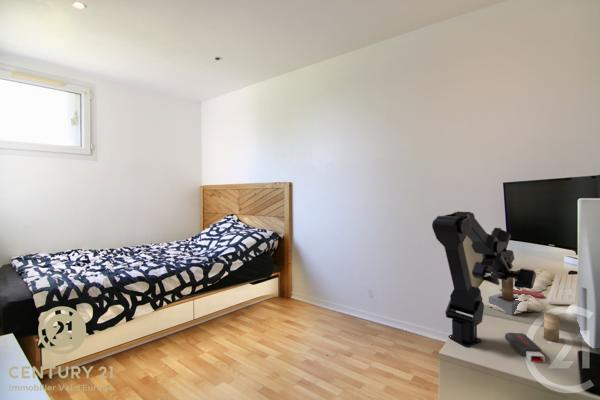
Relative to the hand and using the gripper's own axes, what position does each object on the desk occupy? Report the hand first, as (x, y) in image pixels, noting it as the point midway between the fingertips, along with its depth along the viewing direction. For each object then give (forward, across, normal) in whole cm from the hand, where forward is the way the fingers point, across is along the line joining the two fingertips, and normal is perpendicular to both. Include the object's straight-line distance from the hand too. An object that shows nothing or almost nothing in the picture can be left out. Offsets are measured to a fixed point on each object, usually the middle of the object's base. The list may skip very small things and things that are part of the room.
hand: (509, 286), depth 112 cm
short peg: (-6, -16, +17) cm, 24 cm away
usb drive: (-13, -13, +26) cm, 32 cm away
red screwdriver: (+19, +2, -7) cm, 20 cm away
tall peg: (+5, 0, +7) cm, 8 cm away
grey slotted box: (+5, 0, +7) cm, 8 cm away
